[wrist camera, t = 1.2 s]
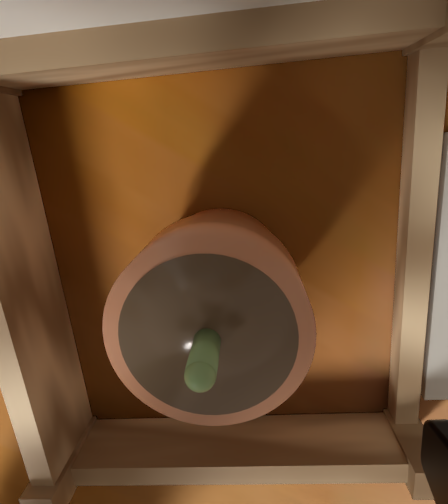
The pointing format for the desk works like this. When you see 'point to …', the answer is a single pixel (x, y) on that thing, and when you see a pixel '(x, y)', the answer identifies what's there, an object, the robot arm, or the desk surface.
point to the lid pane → (108, 12)
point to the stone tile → (438, 298)
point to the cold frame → (52, 296)
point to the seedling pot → (211, 321)
